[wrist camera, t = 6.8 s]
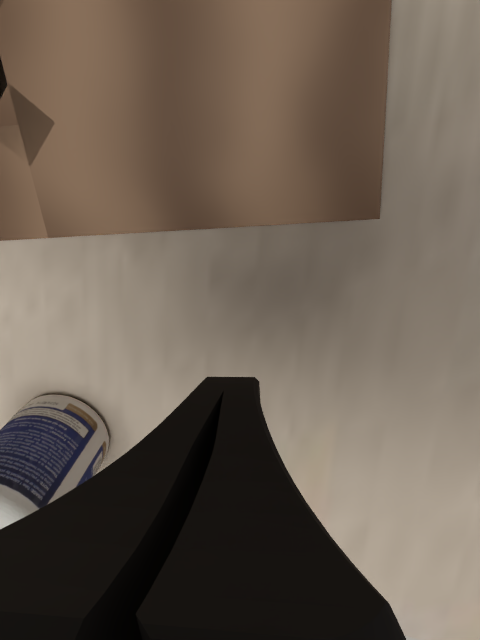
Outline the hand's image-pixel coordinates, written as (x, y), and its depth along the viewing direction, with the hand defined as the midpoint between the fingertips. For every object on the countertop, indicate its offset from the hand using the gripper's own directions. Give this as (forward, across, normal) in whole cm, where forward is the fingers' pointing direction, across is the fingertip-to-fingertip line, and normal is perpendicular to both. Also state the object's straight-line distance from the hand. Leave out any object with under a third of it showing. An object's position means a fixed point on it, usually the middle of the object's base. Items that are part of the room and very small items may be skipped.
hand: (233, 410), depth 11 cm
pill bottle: (+10, +12, +8) cm, 17 cm away
